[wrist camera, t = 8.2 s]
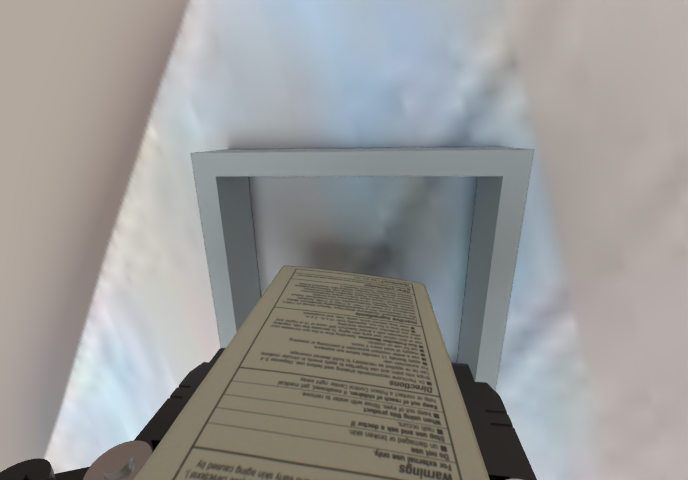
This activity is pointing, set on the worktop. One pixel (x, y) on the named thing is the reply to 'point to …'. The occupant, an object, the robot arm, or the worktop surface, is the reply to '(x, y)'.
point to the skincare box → (327, 391)
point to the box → (485, 162)
